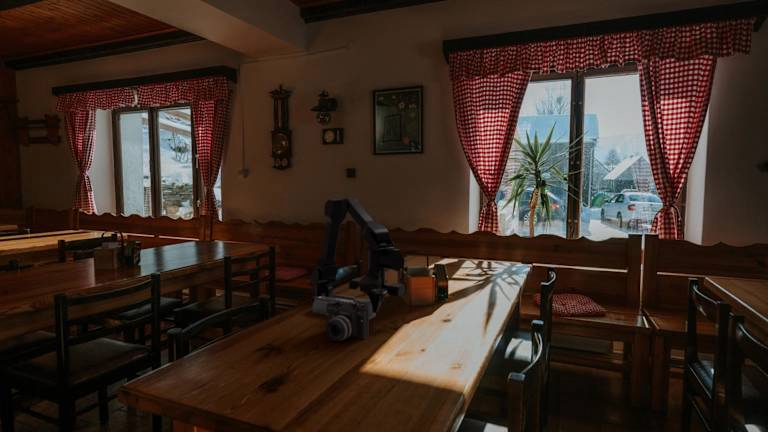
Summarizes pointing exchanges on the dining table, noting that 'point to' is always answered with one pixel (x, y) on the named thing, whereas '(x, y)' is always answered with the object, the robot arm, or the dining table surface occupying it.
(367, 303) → the clip
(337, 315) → the camera
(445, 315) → the dining table surface
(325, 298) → the light grey flat bar
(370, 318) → the clip rail
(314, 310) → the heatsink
